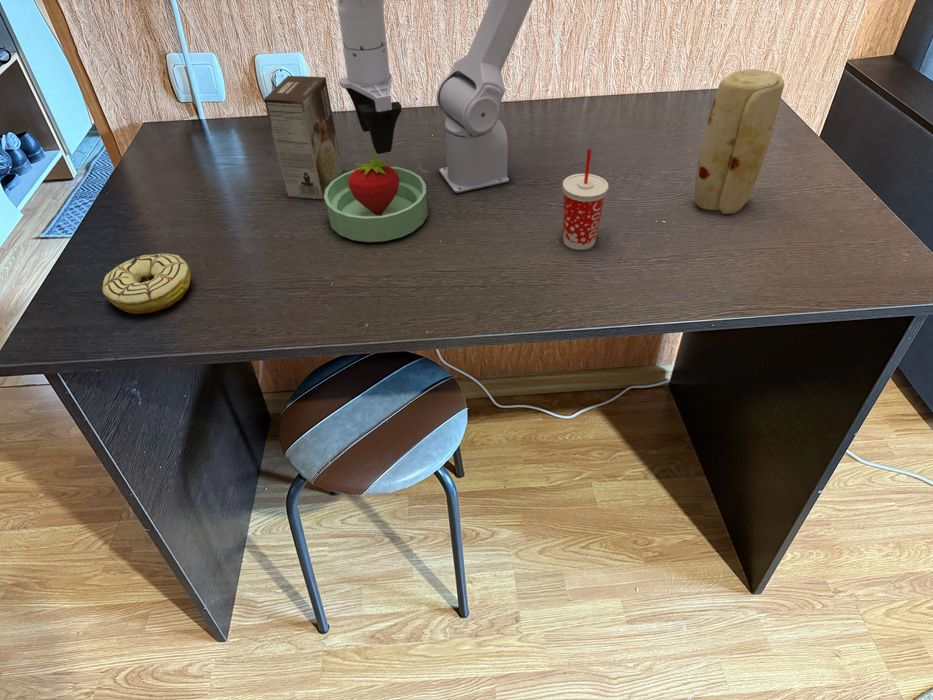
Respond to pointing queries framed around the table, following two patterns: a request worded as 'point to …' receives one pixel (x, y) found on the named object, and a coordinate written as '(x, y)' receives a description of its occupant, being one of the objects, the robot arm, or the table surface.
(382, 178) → the strawberry
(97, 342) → the table surface
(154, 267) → the decorated donut
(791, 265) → the table surface
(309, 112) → the coffee box
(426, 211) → the mint green dish
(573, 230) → the beverage cup
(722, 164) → the food model
